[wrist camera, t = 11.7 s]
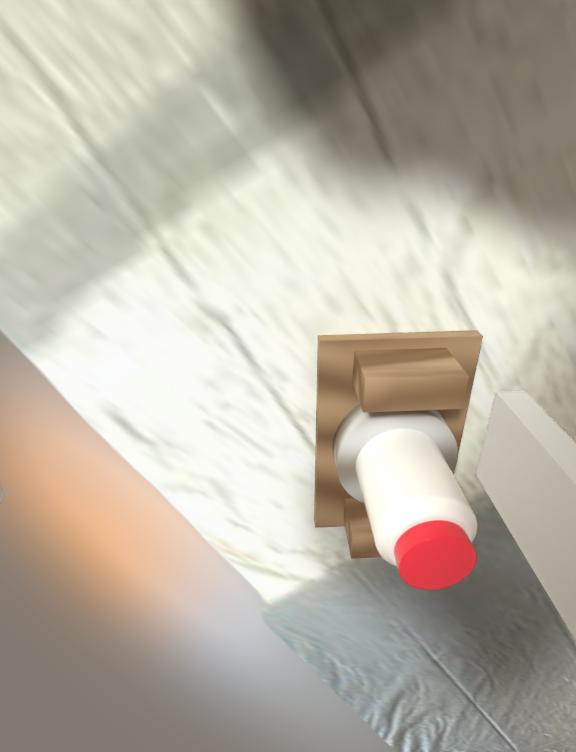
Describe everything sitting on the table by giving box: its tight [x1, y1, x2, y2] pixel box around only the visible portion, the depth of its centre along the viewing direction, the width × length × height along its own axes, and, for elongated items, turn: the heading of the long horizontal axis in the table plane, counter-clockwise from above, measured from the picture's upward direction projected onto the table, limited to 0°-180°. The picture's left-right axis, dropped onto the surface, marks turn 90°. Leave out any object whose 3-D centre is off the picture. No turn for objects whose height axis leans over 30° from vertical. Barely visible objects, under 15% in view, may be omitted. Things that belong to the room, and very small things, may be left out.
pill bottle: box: [355, 428, 477, 590], centre depth 37 cm, size 8×8×11 cm
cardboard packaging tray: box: [314, 331, 483, 558], centre depth 43 cm, size 22×14×6 cm, turn 1°
